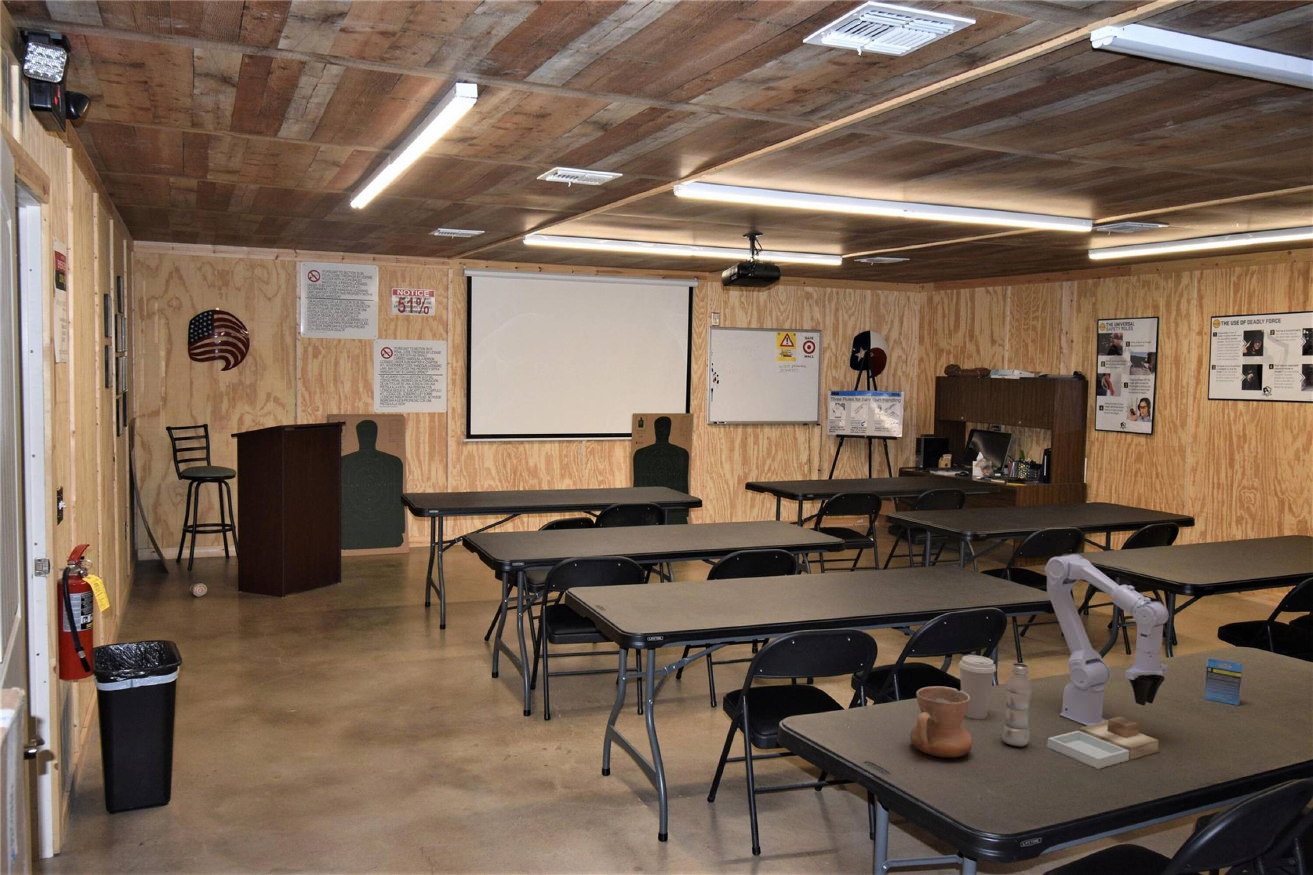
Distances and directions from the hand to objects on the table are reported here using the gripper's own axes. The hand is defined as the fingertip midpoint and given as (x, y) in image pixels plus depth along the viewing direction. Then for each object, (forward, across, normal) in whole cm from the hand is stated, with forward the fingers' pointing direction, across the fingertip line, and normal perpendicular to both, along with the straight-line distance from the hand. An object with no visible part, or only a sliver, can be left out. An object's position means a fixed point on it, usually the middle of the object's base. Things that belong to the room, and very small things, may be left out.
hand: (1144, 703), depth 251 cm
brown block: (+6, -8, 0) cm, 10 cm away
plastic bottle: (+10, -33, +12) cm, 36 cm away
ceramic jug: (+10, -54, +17) cm, 57 cm away
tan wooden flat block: (+9, -10, 0) cm, 13 cm away
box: (+9, -22, 0) cm, 23 cm away
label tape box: (+10, +50, +8) cm, 52 cm away
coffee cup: (+10, -26, +31) cm, 42 cm away
